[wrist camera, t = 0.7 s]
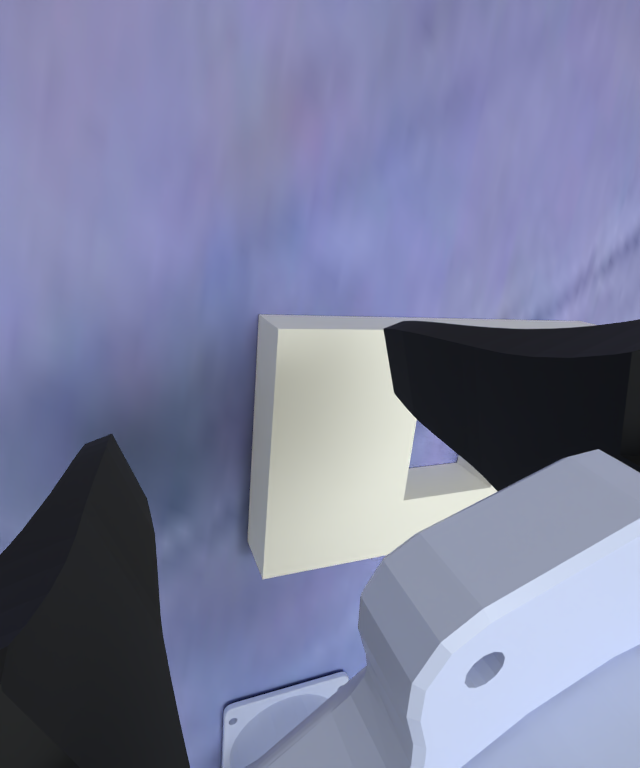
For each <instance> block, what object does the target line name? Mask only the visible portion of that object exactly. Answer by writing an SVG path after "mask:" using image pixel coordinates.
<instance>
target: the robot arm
mask: <svg viewBox="0 0 640 768" xmlns="http://www.w3.org/2000/svg"><path fill="white" fill-rule="evenodd" d="M383 330H384V336H385V342H386V348H387V354H388V360H389V366H390V372H391V378H392V384H393V390H394V394H395V395H396V396H397V397H398V399H399V400H400V401H401V402H402V404H403V405H404V406H405V407H406V408H407V409H408V410H409V412H410V413H411V414H412V415H413V416H414V417H415V418H416V419H417V420H418V421H419V422H421V423H422V424H423V425H424V426H425V427H426V428H428V429H429V430H430V431H431V432H432V433H433V434H435V435H436V436H437V437H438V438H439V439H441V440H442V441H443V442H444V443H445V444H447V445H448V446H449V447H450V448H451V449H452V450H454V451H455V452H456V453H457V454H458V455H460V456H461V457H462V458H463V459H464V460H466V461H467V462H468V463H469V464H470V465H471V466H473V467H474V468H475V469H476V470H477V471H478V472H479V473H480V474H481V475H482V476H483V477H484V478H485V479H486V480H487V481H488V482H489V483H490V484H491V485H492V486H493V487H494V488H495V489H496V490H497V492H496V493H494V494H492V495H490V496H488V497H486V498H484V499H482V500H480V501H478V502H476V503H474V504H472V505H471V506H469V507H467V508H465V509H463V510H461V511H459V512H457V513H455V514H453V515H451V516H449V517H447V518H445V519H443V520H441V521H439V522H437V523H435V524H433V525H431V526H430V527H428V528H426V529H424V530H422V531H420V532H418V533H416V534H415V535H413V536H412V537H411V538H409V539H408V540H407V541H405V542H404V543H403V544H401V545H400V546H399V547H397V548H396V549H395V550H393V551H392V552H391V553H389V554H388V555H387V556H386V557H384V559H383V560H382V562H381V563H380V565H379V566H378V568H377V569H376V571H375V572H374V574H373V576H372V577H371V579H370V580H369V582H368V583H367V585H366V586H365V588H364V590H363V592H362V594H361V597H360V609H359V621H358V629H359V633H360V636H361V639H362V643H363V646H364V650H365V653H366V661H367V666H365V667H364V668H363V669H362V670H361V671H360V672H359V673H357V674H356V675H355V676H354V677H353V678H352V679H350V680H349V679H348V676H347V674H346V673H345V672H339V673H335V674H332V675H328V676H325V677H321V678H318V679H315V680H311V681H308V682H304V683H301V684H297V685H294V686H290V687H287V688H283V689H280V690H277V691H273V692H270V693H266V694H263V695H259V696H256V697H252V698H249V699H245V700H242V701H239V702H235V703H232V704H230V705H228V706H227V707H226V708H225V709H224V713H223V740H222V768H640V320H634V321H627V322H621V323H613V324H605V325H595V326H583V327H572V328H552V329H511V328H493V327H479V326H468V325H458V324H448V323H438V322H428V321H402V322H399V323H397V324H394V325H391V326H389V327H386V328H384V329H383ZM0 768H190V765H189V761H188V756H187V752H186V747H185V743H184V738H183V734H182V729H181V725H180V720H179V716H178V711H177V706H176V701H175V696H174V691H173V686H172V681H171V676H170V671H169V666H168V660H167V655H166V650H165V644H164V639H163V633H162V625H161V616H160V602H159V587H158V572H157V557H156V544H155V533H154V528H153V523H152V518H151V514H150V510H149V506H148V501H147V498H146V496H145V494H144V492H143V491H142V489H141V487H140V485H139V483H138V481H137V479H136V478H135V476H134V474H133V472H132V470H131V468H130V466H129V465H128V463H127V461H126V459H125V457H124V455H123V453H122V452H121V450H120V448H119V446H118V444H117V442H116V440H115V439H114V437H113V435H112V434H110V435H108V436H105V437H102V438H100V439H97V440H95V441H92V442H89V443H87V444H85V445H84V446H83V447H82V449H81V450H80V451H79V453H78V454H77V455H76V457H75V458H74V460H73V461H72V463H71V464H70V466H69V467H68V469H67V470H66V472H65V473H64V474H63V476H62V477H61V479H60V480H59V482H58V483H57V484H56V486H55V487H54V489H53V490H52V492H51V493H50V495H49V496H48V497H47V499H46V500H45V501H44V503H43V504H42V505H41V506H40V508H39V509H38V510H37V512H36V513H35V514H34V515H33V517H32V518H31V519H30V521H29V522H28V523H27V525H26V526H25V527H24V528H23V530H22V531H21V532H20V533H19V534H18V536H17V537H16V538H15V539H14V540H13V541H12V543H11V544H10V545H9V546H8V547H7V548H6V549H5V550H4V551H3V553H2V554H1V555H0Z"/></svg>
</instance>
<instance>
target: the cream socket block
mask: <svg viewBox="0 0 640 768" xmlns="http://www.w3.org/2000/svg"><path fill="white" fill-rule="evenodd" d="M402 321H428V322H438V323H448V324H458V325H468V326H479V327H493V328H511V329H552V328H572V327H583V326H595V325H594V324H590V323H585V322H581V321H553V320H504V319H455V318H405V317H356V316H307V315H259V321H258V341H257V361H256V381H255V401H254V421H253V441H252V461H251V481H250V502H249V522H248V543H249V546H250V549H251V551H252V554H253V556H254V559H255V561H256V564H257V566H258V569H259V571H260V574H261V577H262V579H267V578H272V577H277V576H282V575H287V574H292V573H298V572H303V571H308V570H313V569H318V568H323V567H328V566H333V565H338V564H344V563H349V562H354V561H359V560H364V559H369V558H374V557H379V556H384V555H388V554H389V553H391V552H392V551H393V550H395V549H396V548H397V547H399V546H400V545H401V544H403V543H404V542H405V541H407V540H408V539H409V538H411V537H412V536H413V535H415V534H416V533H418V532H420V531H422V530H424V529H426V528H428V527H430V526H431V525H433V524H435V523H437V522H439V521H441V520H443V519H445V518H447V517H449V516H451V515H453V514H455V513H457V512H459V511H461V510H463V509H465V508H467V507H469V506H471V505H472V504H474V503H476V502H478V501H480V500H482V499H484V498H486V497H488V496H490V495H492V494H494V493H496V492H497V490H496V489H495V488H494V487H493V486H492V485H491V484H490V483H489V482H488V481H487V480H486V479H485V478H484V477H483V476H482V475H481V474H480V473H479V472H478V471H477V470H476V469H475V468H474V467H473V466H471V465H470V464H469V463H468V462H467V461H466V460H464V459H463V458H462V457H461V456H460V455H458V460H457V463H449V464H441V465H433V466H424V467H416V468H409V464H410V458H411V451H412V445H413V439H414V433H415V427H416V421H417V419H416V418H415V417H414V416H413V415H412V414H411V413H410V412H409V410H408V409H407V408H406V407H405V406H404V405H403V404H402V402H401V401H400V400H399V399H398V397H397V396H396V395H395V394H394V390H393V384H392V378H391V372H390V366H389V360H388V354H387V348H386V342H385V336H384V330H383V329H384V328H386V327H389V326H391V325H394V324H397V323H399V322H402Z"/></svg>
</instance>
